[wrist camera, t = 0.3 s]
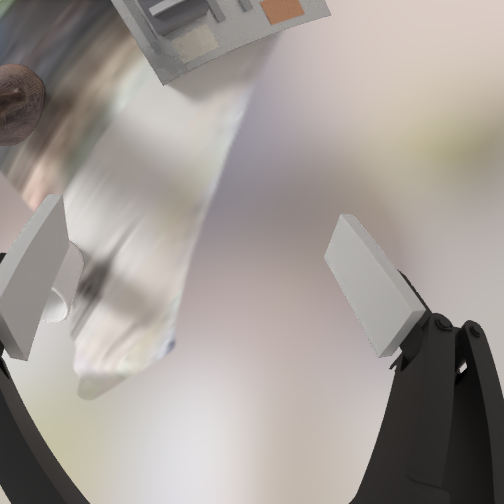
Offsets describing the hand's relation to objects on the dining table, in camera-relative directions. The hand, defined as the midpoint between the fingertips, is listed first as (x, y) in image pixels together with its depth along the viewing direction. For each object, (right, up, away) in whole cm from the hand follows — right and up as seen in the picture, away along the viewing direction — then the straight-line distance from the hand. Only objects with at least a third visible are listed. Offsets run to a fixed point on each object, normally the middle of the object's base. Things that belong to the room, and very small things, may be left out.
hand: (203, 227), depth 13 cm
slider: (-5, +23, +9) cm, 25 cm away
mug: (-28, 0, +26) cm, 38 cm away
